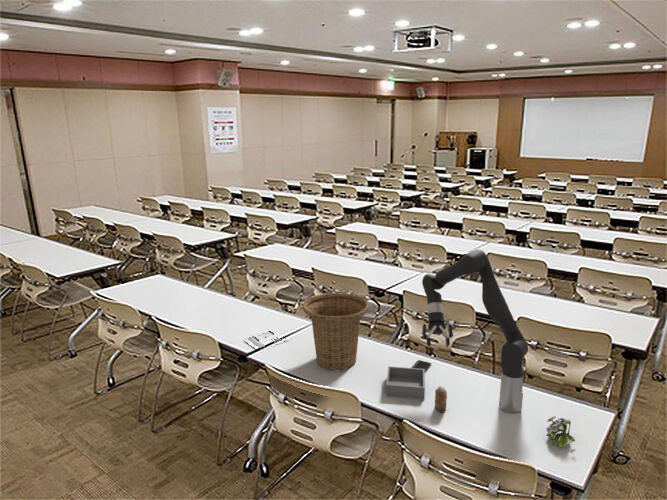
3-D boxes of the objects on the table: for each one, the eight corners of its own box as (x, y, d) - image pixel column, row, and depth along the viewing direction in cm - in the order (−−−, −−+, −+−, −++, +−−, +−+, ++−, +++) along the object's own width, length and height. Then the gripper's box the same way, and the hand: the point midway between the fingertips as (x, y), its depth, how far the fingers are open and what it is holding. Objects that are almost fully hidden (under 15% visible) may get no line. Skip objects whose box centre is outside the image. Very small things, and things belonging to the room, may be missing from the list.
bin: (424, 379, 245) (424, 368, 243) (424, 399, 228) (424, 387, 226) (388, 377, 248) (388, 366, 246) (385, 396, 231) (386, 384, 229)
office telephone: (258, 348, 277) (240, 337, 292) (258, 352, 277) (241, 341, 292) (291, 336, 291) (273, 326, 306) (291, 340, 292) (273, 330, 307)
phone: (407, 371, 251) (418, 359, 264) (407, 373, 252) (418, 361, 264) (422, 375, 247) (432, 363, 260) (422, 377, 248) (432, 365, 260)
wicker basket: (333, 384, 241) (332, 322, 233) (291, 360, 267) (289, 303, 258) (381, 361, 264) (382, 304, 255) (338, 341, 289) (338, 288, 280)
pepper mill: (445, 406, 222) (446, 385, 219) (446, 412, 217) (447, 391, 214) (434, 405, 223) (435, 385, 220) (434, 411, 218) (435, 390, 215)
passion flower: (548, 446, 202) (549, 416, 206) (577, 451, 196) (577, 420, 200) (542, 445, 194) (543, 413, 198) (572, 449, 187) (573, 417, 191)
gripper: (422, 310, 233) (425, 344, 226) (452, 311, 234) (455, 344, 227) (419, 315, 240) (422, 348, 233) (448, 316, 241) (451, 348, 234)
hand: (438, 346), depth 230 cm, fingers open, 8 cm apart
